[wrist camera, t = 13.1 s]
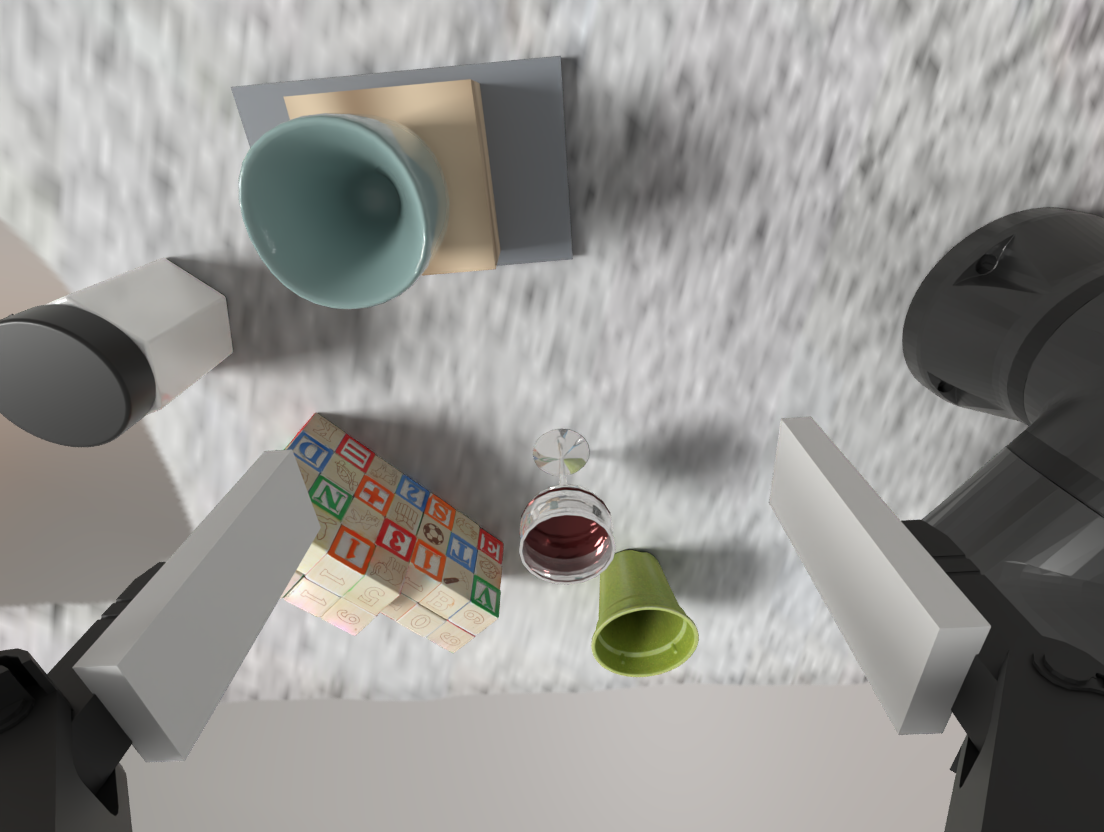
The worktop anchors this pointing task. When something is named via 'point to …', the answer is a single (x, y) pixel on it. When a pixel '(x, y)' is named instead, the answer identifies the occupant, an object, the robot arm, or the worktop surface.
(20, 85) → the worktop surface
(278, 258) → the cup
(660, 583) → the plant pot
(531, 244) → the base board
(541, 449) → the wineglass
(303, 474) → the stack of blocks
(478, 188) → the oak riser
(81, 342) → the jar
